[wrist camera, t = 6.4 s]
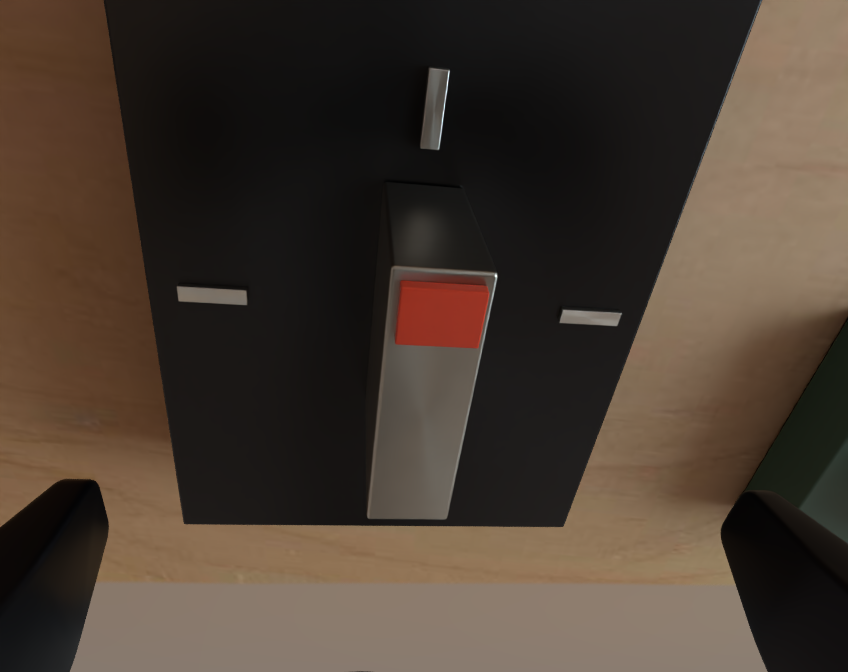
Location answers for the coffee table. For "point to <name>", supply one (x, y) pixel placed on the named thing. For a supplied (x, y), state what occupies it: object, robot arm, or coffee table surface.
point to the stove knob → (423, 347)
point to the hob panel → (360, 222)
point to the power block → (815, 447)
